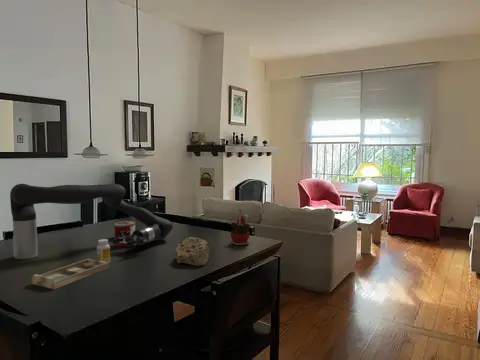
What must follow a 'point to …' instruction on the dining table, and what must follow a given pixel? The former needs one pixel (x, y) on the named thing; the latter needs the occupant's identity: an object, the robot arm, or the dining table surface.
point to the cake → (240, 231)
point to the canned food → (122, 231)
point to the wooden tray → (69, 273)
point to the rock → (192, 251)
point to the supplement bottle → (103, 251)
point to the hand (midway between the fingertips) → (120, 243)
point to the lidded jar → (132, 226)
